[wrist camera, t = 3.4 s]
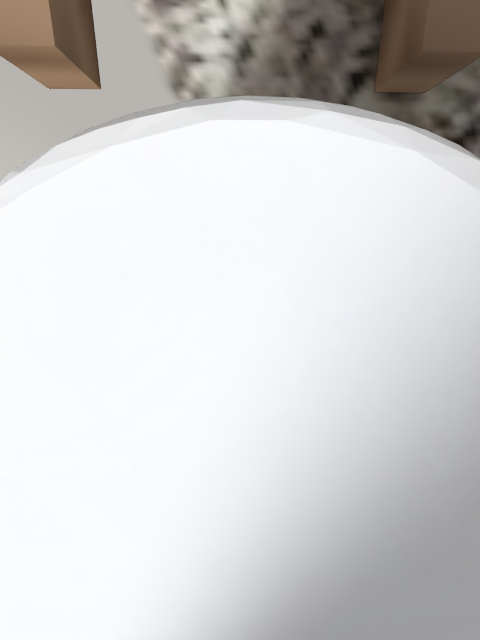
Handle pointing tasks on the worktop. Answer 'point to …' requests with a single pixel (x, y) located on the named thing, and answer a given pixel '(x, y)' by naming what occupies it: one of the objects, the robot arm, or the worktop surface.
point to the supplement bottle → (241, 379)
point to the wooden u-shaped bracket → (393, 61)
